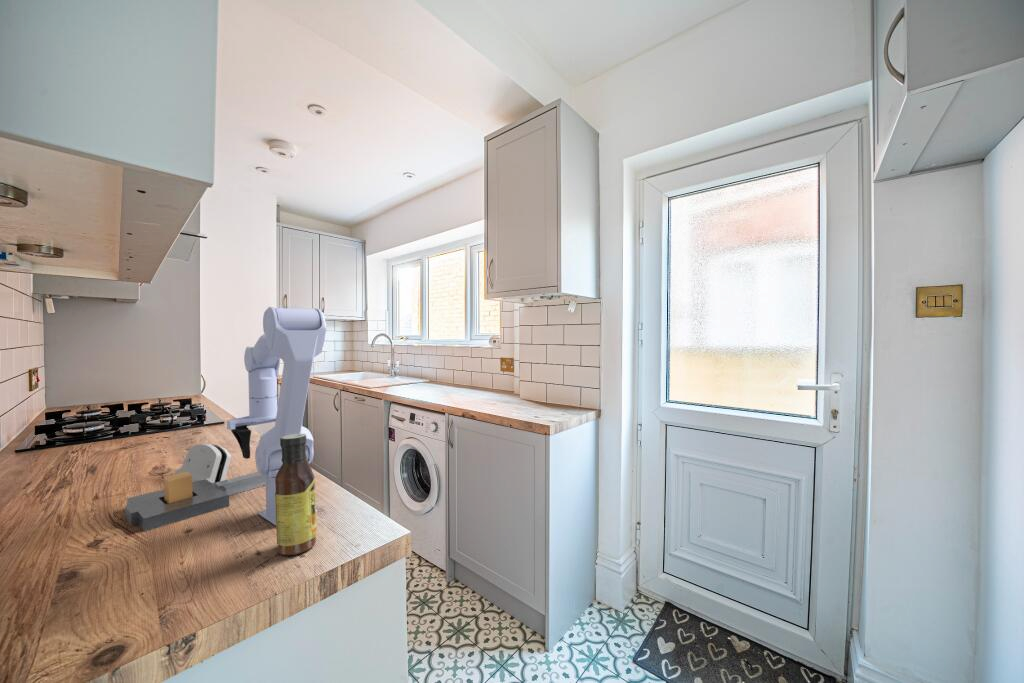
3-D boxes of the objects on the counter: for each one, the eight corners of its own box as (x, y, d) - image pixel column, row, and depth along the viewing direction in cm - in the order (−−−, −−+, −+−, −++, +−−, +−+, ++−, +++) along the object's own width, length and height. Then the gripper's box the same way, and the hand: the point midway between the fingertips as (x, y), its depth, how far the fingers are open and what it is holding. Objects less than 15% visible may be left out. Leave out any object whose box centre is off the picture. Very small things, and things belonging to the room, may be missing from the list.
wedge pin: (192, 507, 87) (192, 475, 87) (169, 513, 84) (168, 481, 84) (187, 502, 90) (186, 471, 89) (164, 508, 86) (163, 477, 86)
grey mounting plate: (286, 488, 97) (286, 476, 97) (137, 533, 76) (136, 518, 76) (260, 474, 107) (259, 463, 107) (120, 511, 85) (120, 497, 85)
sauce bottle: (321, 547, 70) (319, 436, 69) (282, 562, 66) (279, 443, 65) (310, 534, 75) (307, 429, 74) (272, 546, 70) (269, 435, 70)
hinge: (171, 477, 105) (186, 439, 108) (192, 478, 109) (205, 441, 112) (201, 489, 97) (216, 447, 100) (222, 489, 101) (236, 449, 104)
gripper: (287, 391, 103) (288, 444, 103) (221, 399, 91) (222, 458, 91) (300, 394, 98) (301, 448, 99) (232, 402, 87) (234, 464, 87)
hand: (264, 453), depth 95 cm, fingers open, 7 cm apart
